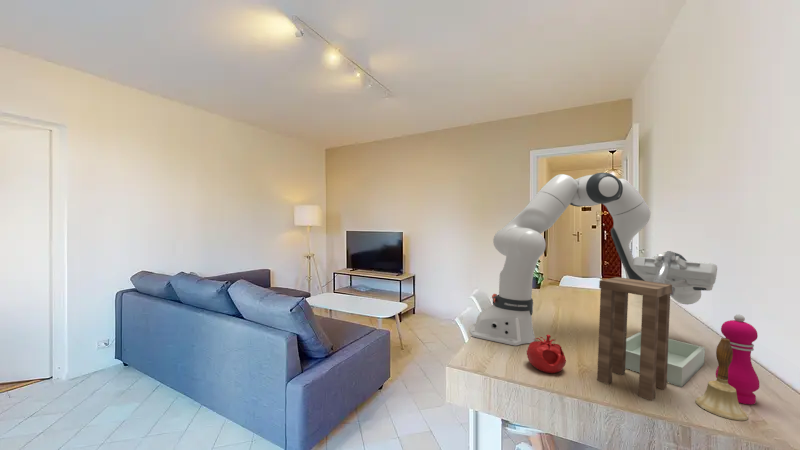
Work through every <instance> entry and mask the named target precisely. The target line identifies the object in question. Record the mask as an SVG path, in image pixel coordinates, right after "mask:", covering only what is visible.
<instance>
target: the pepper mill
mask: <svg viewBox="0 0 800 450" xmlns="http://www.w3.org/2000/svg"><path fill="white" fill-rule="evenodd" d="M733 319H734V320H733ZM733 319H731V320H726V321H724V322H723V323H722V324H721V327H720V332H721V334H722V335H723V336H724V338H726V339H729V340H730V344H731V347H732V350H733V357H732V361H731V363H730V365H729V368H728V384H729V385H730V386H732V387H734V388H735V389H736V392H737V399H738V403H739V404H744V405H751V406H752V405H755V404H756V403H757V396H756V394H755V393H754V392H756V391H758V390H759V389H760V386H761V385H760V380H759V377H758V376H759V375H757V373H756V370H755V369H754V366H753V364H752V358H751V357H752V352H753V351H754V350H755V349H754V348H755V345H754V343H753V342H755V341H756V340H758V331H757V329H756V327H754V326H753V325H752V324H750V323H748V322H745V320H746V319H745V317H744V316H743V315H742V314H735V315H734V316H733ZM718 368H719V365H717V367H716V370H715V377H716V379H717V377H718V376H717V375H718Z"/></svg>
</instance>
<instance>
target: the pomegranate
mask: <svg viewBox="0 0 800 450" xmlns="http://www.w3.org/2000/svg"><path fill="white" fill-rule="evenodd" d="M545 337H546V339H545V338H543V337H542V336H539V337H535V341H534V342H531V343H529V344H528V347H527V350H526V358H527V359H528V361H529V364H531V365H532V366H533V368H535V369H537V370H538V371H540V372H543V373H547V374H555V373H559V372H561V371H562V370H563V369H564V367H565V366H566V362H567V360H566V356H565V353H564V351H563V349H562V348H563V347H562V346H561V345H560V344H558V343H553V342H555V341H556V339H553V338H552V339H551V337H552V336H551V334H546V336H545ZM536 340H537V341H536Z"/></svg>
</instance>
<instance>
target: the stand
mask: <svg viewBox="0 0 800 450" xmlns="http://www.w3.org/2000/svg"><path fill="white" fill-rule="evenodd" d="M598 282H599V284H598V288H599V289H600V300H599V319H598V320H599V323H598V325H599V326H598V327H599V328H598V347H597V349H598V350H597V351H598V352H597V373H596V376H597V377H596V380H597V381H599V382H601V383H603V384H606V385H609V384H610V383H612V382H613V373H614V372H615V373H614V374H617V373H618V375H620V374H621V376H622V375H624V374H625V373H626V368H625V362H626V339H627V334H628V332H627V331H628V311H629V310H628V309H629V308H628V307H629V304H628V303H629V294H632V295H638V296H642V300H641V301H642V302H641V303H642V304H641V306H642V307H641V309H642V310H641V329H640V332H641V350H640V373H639V375H638V376H639V377H638V379H639V380H638V383H639V384H638V397H640V398H643V399H646V400H648V401H651V402H652V401H654V400H655V399H656V388H657V387H658V388H657V389H660V390H663V391H664V390H666V389H667V387H668V386H667V384H668V383H667V364H668V340H669V339H670V338H669V337H670V332H669V331H670V313H671V312H670V309H671V296H670V293H672V285H671V284H664V283H657V282H649V281H642V280H635V279H628V278H626V277H619V276H616V277H611V278H607V279H600V280H599V281H598Z"/></svg>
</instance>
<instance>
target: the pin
mask: <svg viewBox="0 0 800 450" xmlns="http://www.w3.org/2000/svg"><path fill="white" fill-rule="evenodd" d="M675 253H676V252H673V251H671V250H667V251H665V255H664V257H663V259H662V262H661V264H660V266H659V269H658V271H657V273H656V276H655V278H654V280H653V282H657V283H664V282H665V279H666V277H667V274H668V272H669V269H670V267H671V264H672V256H675ZM674 294H675V288H674V287H672V293H670V295H672V296H674Z"/></svg>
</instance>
